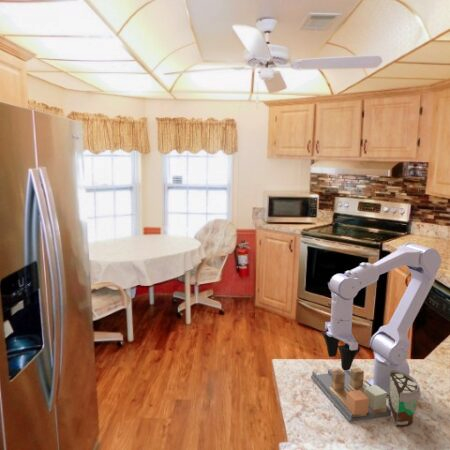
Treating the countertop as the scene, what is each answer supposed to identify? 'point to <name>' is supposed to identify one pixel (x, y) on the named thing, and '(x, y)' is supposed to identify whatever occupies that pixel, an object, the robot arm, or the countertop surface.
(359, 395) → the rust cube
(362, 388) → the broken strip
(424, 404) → the countertop surface
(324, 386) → the lane board
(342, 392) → the oak strip
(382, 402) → the sage block
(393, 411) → the food container
